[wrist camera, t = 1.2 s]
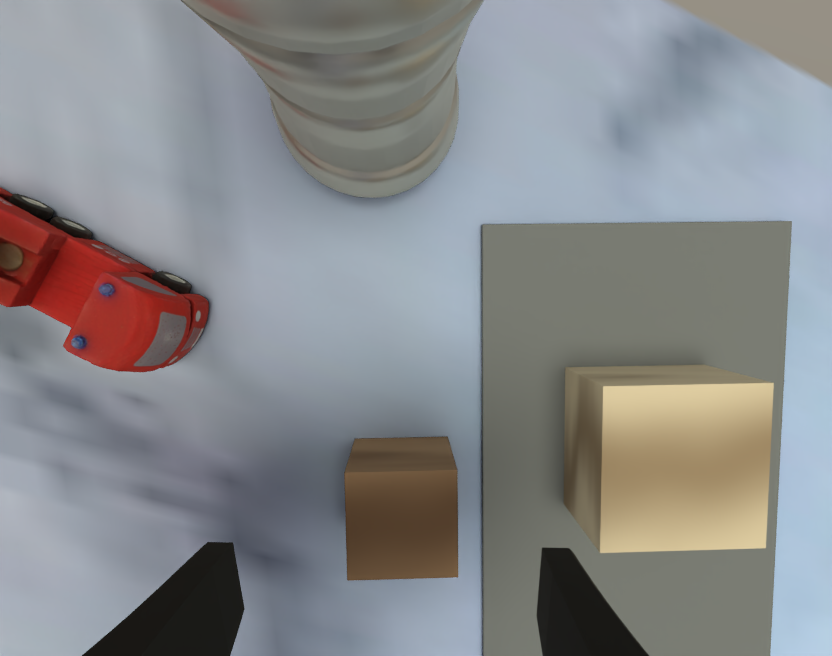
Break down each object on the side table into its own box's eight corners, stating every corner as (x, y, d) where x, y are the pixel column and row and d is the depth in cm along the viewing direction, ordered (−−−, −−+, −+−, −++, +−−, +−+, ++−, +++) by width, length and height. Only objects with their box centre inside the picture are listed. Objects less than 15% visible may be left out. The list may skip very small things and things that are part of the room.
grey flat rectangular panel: (764, 663, 23) (769, 668, 23) (482, 673, 23) (483, 679, 22) (786, 222, 21) (791, 221, 21) (481, 225, 21) (482, 224, 21)
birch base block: (699, 500, 22) (765, 548, 18) (563, 503, 22) (600, 553, 18) (704, 364, 21) (773, 382, 17) (565, 367, 21) (603, 386, 17)
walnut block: (448, 524, 22) (458, 576, 18) (357, 527, 22) (347, 580, 18) (447, 435, 22) (457, 470, 18) (355, 437, 22) (344, 472, 18)
